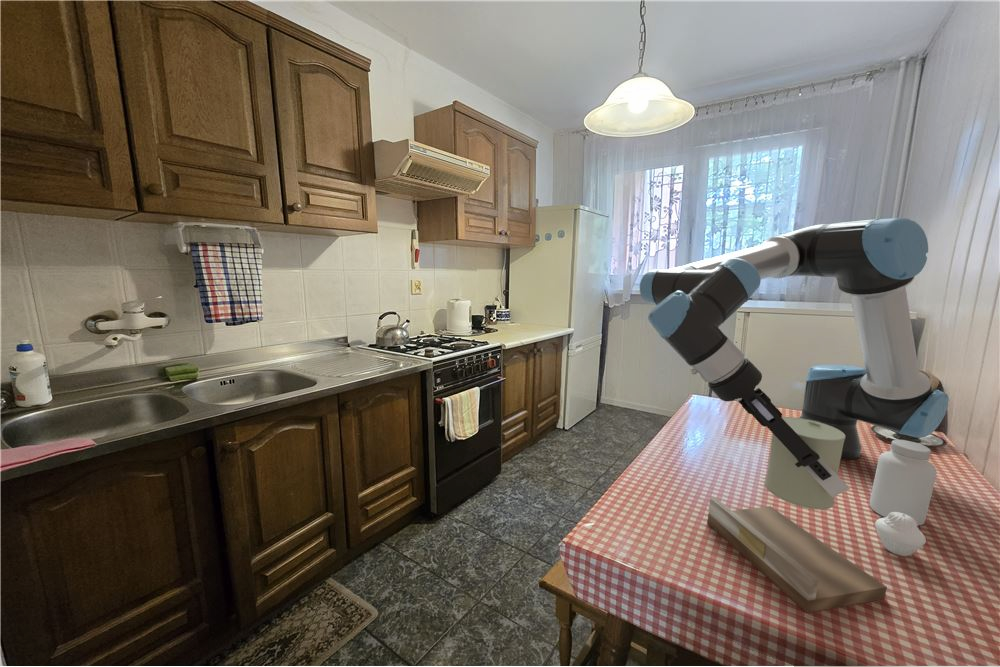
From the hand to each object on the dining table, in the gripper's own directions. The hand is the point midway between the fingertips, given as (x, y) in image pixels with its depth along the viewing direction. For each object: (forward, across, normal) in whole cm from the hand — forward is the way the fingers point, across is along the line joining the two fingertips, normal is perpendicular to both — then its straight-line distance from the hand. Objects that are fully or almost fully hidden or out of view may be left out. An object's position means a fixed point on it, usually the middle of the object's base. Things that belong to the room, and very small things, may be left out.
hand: (825, 476), depth 63 cm
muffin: (+22, -8, 0) cm, 23 cm away
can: (0, 0, -5) cm, 5 cm away
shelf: (+8, 0, -14) cm, 16 cm away
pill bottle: (+26, -21, +4) cm, 34 cm away
